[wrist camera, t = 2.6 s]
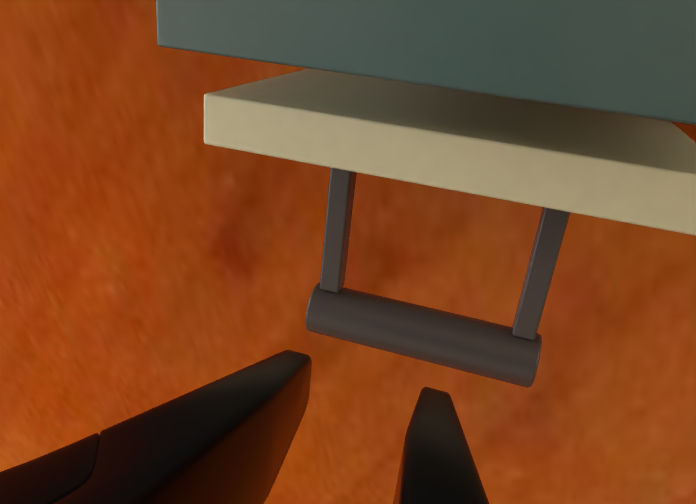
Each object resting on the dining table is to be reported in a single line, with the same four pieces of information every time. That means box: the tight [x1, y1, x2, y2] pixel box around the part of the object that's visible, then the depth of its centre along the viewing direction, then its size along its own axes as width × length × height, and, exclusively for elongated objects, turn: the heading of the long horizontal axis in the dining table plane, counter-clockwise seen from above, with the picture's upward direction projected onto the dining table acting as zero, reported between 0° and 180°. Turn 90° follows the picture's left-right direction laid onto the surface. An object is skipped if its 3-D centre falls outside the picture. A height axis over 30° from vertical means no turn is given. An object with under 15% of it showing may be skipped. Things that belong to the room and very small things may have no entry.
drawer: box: [204, 68, 696, 388], centre depth 14 cm, size 18×11×7 cm, turn 174°
